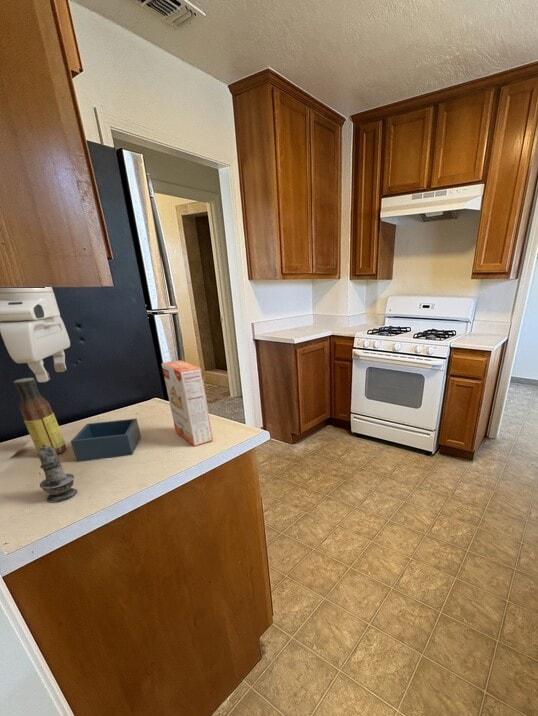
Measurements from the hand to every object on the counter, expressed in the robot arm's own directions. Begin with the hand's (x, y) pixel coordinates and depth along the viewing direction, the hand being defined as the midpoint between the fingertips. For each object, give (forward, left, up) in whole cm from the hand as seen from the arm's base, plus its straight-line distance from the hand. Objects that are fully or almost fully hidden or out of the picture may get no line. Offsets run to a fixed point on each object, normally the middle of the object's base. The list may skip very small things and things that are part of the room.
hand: (53, 376), depth 76 cm
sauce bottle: (-11, +13, -23) cm, 28 cm away
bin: (+4, +11, -23) cm, 25 cm away
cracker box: (+25, +12, -23) cm, 36 cm away
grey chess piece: (0, -12, -23) cm, 26 cm away
